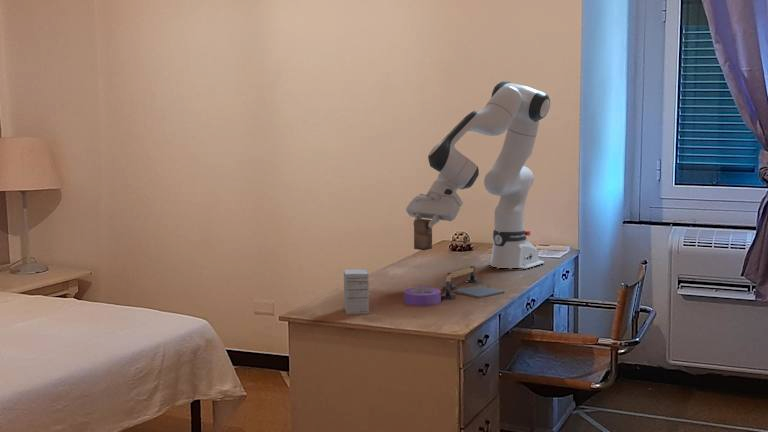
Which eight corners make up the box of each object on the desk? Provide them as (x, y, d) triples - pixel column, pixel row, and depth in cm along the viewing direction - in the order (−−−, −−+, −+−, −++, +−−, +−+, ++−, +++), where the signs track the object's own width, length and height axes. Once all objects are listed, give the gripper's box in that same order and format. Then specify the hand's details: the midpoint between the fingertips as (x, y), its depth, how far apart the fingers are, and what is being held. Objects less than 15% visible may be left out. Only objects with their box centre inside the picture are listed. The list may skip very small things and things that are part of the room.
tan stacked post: (422, 247, 316) (422, 218, 314) (432, 248, 313) (432, 220, 311) (414, 248, 312) (413, 220, 311) (423, 250, 309) (423, 221, 308)
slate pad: (478, 287, 313) (478, 285, 313) (504, 292, 304) (504, 291, 304) (453, 292, 306) (453, 290, 305) (479, 298, 296) (479, 296, 296)
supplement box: (344, 308, 284) (343, 269, 282) (367, 308, 284) (367, 268, 283) (345, 314, 276) (344, 273, 275) (369, 313, 277) (368, 273, 275)
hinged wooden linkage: (458, 279, 327) (458, 264, 326) (478, 280, 324) (478, 265, 323) (429, 297, 298) (429, 281, 297) (451, 299, 295) (451, 283, 294)
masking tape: (429, 308, 285) (429, 296, 284) (397, 303, 291) (397, 292, 290) (447, 300, 294) (447, 289, 294) (415, 296, 301) (415, 285, 300)
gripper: (413, 188, 322) (395, 218, 316) (458, 191, 308) (440, 223, 302) (422, 199, 326) (403, 229, 320) (466, 203, 312) (448, 235, 306)
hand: (421, 226), depth 311 cm, fingers closed on tan stacked post, 4 cm apart
